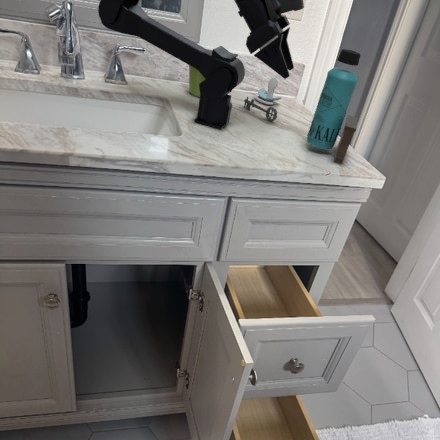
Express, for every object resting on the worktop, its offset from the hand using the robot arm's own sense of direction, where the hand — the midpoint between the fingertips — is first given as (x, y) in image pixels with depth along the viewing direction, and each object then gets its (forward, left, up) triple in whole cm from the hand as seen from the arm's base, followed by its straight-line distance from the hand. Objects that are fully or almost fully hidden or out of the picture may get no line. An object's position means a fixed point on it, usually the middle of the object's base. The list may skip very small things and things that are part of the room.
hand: (289, 73), depth 86 cm
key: (-6, +14, -14) cm, 21 cm away
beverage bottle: (+10, +1, -14) cm, 17 cm away
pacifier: (-7, +28, -14) cm, 32 cm away
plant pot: (-23, +18, -14) cm, 33 cm away
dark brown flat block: (+15, +1, -14) cm, 20 cm away
